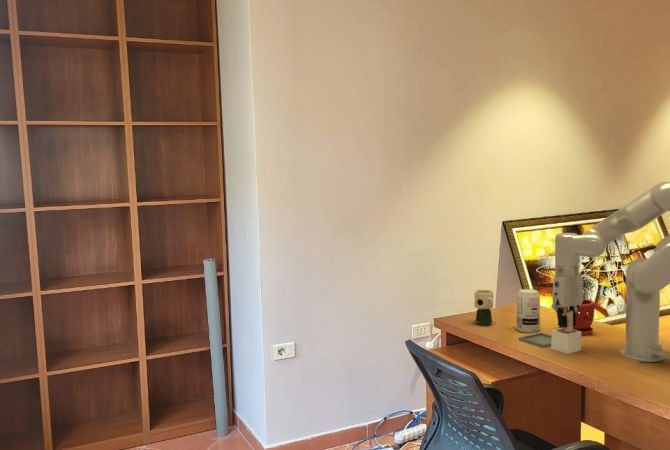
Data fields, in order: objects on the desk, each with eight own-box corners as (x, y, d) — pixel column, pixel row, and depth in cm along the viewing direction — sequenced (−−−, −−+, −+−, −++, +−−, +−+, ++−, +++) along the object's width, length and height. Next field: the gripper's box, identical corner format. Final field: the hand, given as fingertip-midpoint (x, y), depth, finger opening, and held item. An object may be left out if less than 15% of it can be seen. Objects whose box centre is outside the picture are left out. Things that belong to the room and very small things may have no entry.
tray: (566, 344, 217) (566, 339, 217) (543, 349, 211) (543, 344, 211) (541, 336, 226) (541, 332, 226) (518, 341, 221) (518, 337, 221)
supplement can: (523, 326, 241) (523, 287, 239) (543, 330, 235) (543, 290, 233) (512, 330, 235) (512, 291, 233) (532, 334, 229) (533, 294, 228)
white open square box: (581, 352, 208) (581, 331, 207) (567, 355, 204) (567, 334, 204) (564, 347, 213) (565, 327, 213) (551, 350, 210) (551, 330, 209)
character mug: (468, 322, 249) (468, 289, 248) (483, 319, 252) (483, 287, 250) (484, 328, 239) (484, 295, 238) (500, 326, 241) (500, 293, 240)
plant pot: (596, 330, 232) (597, 298, 231) (590, 339, 221) (591, 306, 220) (559, 326, 239) (559, 295, 238) (552, 335, 228) (552, 302, 226)
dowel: (575, 349, 208) (575, 311, 207) (567, 351, 206) (567, 312, 205) (566, 346, 211) (566, 308, 210) (558, 348, 209) (559, 310, 208)
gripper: (558, 275, 199) (558, 332, 201) (593, 269, 207) (593, 324, 209) (540, 272, 205) (540, 327, 207) (574, 266, 213) (574, 319, 215)
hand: (567, 325), depth 208 cm, fingers closed on dowel, 3 cm apart
